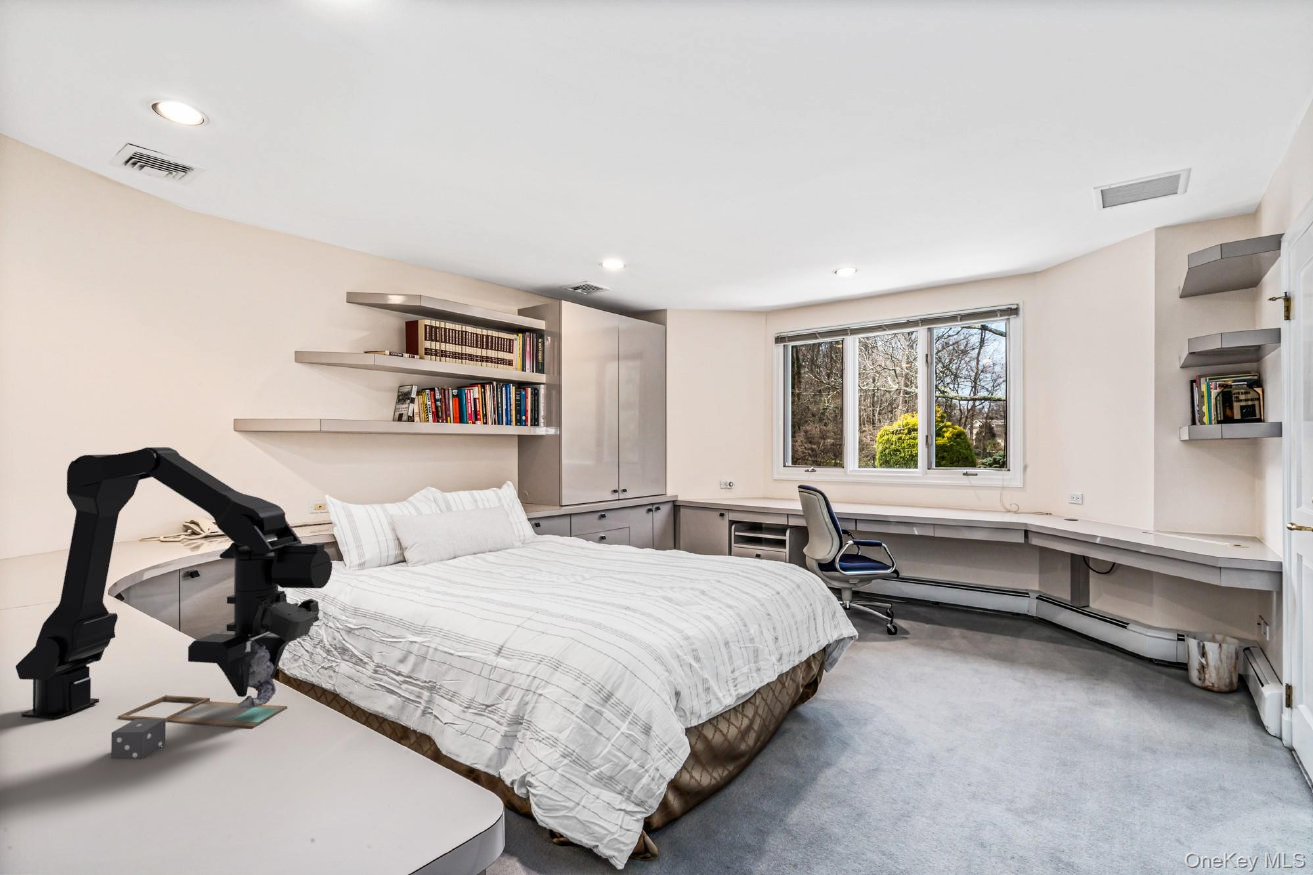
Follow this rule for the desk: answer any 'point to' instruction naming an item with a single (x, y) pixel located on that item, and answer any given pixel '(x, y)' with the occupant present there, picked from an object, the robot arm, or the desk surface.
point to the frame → (159, 700)
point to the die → (138, 739)
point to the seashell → (259, 677)
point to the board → (228, 714)
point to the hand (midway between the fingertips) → (255, 689)
